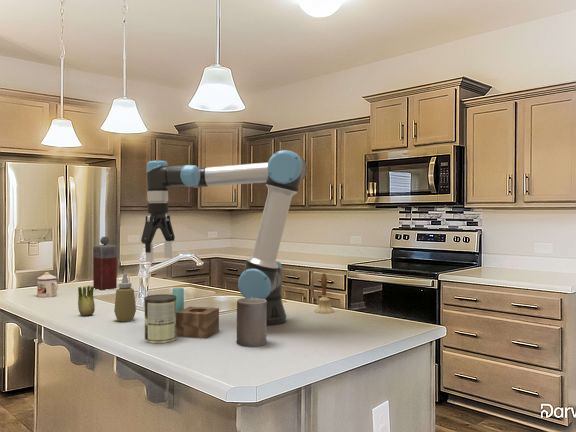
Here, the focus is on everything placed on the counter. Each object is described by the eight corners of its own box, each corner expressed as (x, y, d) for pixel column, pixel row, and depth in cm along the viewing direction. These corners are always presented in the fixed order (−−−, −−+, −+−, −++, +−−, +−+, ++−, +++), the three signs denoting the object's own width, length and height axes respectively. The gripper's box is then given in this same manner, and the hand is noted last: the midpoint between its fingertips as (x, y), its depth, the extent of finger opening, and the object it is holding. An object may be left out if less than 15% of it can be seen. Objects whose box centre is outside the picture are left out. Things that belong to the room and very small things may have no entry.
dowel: (185, 326, 190) (185, 288, 189) (180, 328, 186) (180, 289, 186) (175, 325, 191) (175, 287, 190) (170, 327, 187) (170, 289, 187)
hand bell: (323, 314, 211) (323, 275, 211) (310, 311, 218) (310, 273, 218) (338, 312, 216) (338, 273, 216) (325, 308, 223) (325, 271, 223)
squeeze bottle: (129, 323, 195) (129, 275, 194) (110, 322, 196) (109, 274, 196) (139, 318, 203) (139, 272, 202) (121, 317, 204) (120, 272, 204)
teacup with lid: (32, 296, 253) (32, 272, 253) (49, 293, 261) (48, 270, 261) (49, 298, 248) (48, 274, 247) (65, 295, 256) (65, 272, 255)
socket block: (218, 330, 183) (218, 308, 182) (206, 338, 172) (206, 314, 172) (190, 328, 185) (190, 306, 185) (176, 336, 175) (176, 312, 175)
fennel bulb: (76, 316, 207) (76, 286, 207) (84, 313, 212) (84, 284, 212) (88, 317, 205) (88, 287, 205) (96, 314, 210) (96, 285, 210)
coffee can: (137, 340, 170) (137, 297, 169) (163, 334, 178) (163, 293, 177) (157, 345, 163) (156, 300, 163) (182, 338, 171) (182, 296, 171)
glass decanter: (106, 286, 287) (106, 235, 286) (116, 288, 279) (116, 236, 279) (91, 288, 280) (90, 236, 280) (101, 290, 272) (101, 237, 272)
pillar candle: (230, 342, 166) (230, 296, 166) (253, 337, 173) (253, 292, 173) (249, 348, 159) (250, 300, 159) (273, 342, 166) (273, 296, 166)
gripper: (165, 203, 205) (166, 256, 205) (130, 202, 181) (131, 263, 181) (182, 202, 203) (183, 256, 203) (149, 202, 179) (150, 263, 179)
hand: (159, 259), depth 192 cm, fingers open, 13 cm apart
